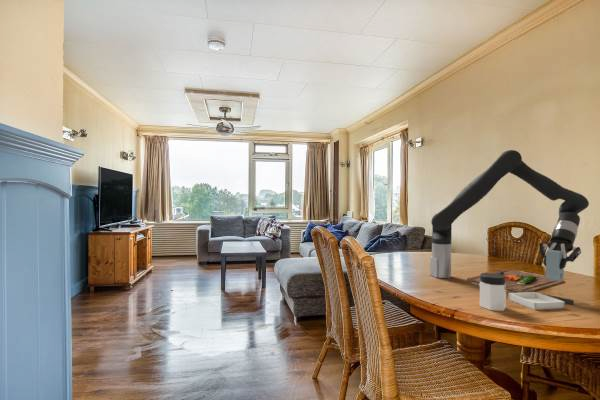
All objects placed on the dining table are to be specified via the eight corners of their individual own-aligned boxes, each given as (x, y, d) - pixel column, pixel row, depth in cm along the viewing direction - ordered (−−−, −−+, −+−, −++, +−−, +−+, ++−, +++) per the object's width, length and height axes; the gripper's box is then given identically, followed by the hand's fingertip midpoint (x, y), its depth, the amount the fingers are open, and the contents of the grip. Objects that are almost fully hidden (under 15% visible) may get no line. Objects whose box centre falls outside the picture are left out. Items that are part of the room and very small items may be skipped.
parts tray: (534, 310, 117) (534, 303, 117) (508, 299, 129) (508, 293, 129) (564, 308, 119) (564, 301, 119) (535, 297, 131) (535, 291, 131)
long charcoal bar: (538, 297, 131) (538, 293, 131) (539, 296, 132) (539, 293, 132) (572, 304, 122) (572, 300, 122) (573, 303, 123) (573, 300, 123)
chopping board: (520, 296, 134) (520, 289, 134) (460, 281, 158) (460, 275, 158) (568, 282, 157) (568, 275, 157) (510, 271, 180) (510, 265, 180)
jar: (482, 301, 126) (482, 271, 126) (507, 306, 121) (507, 274, 121) (477, 308, 119) (477, 275, 119) (503, 313, 114) (503, 279, 114)
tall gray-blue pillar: (545, 278, 128) (546, 251, 128) (550, 276, 131) (551, 249, 131) (558, 280, 124) (559, 252, 124) (563, 278, 127) (563, 251, 127)
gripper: (541, 226, 137) (529, 257, 130) (584, 229, 126) (574, 264, 119) (545, 237, 140) (534, 269, 134) (588, 241, 129) (578, 276, 122)
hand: (553, 266), depth 126 cm, fingers closed on tall gray-blue pillar, 4 cm apart
